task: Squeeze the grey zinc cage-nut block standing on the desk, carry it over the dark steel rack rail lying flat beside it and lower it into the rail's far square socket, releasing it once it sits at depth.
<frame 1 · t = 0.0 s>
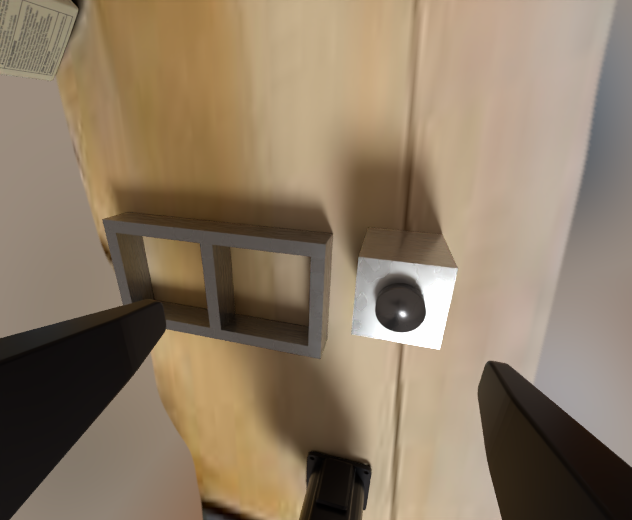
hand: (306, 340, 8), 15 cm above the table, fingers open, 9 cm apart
cage nut: (399, 263, 22), on the table
skincare box: (46, 27, 22), on the table
rail: (227, 275, 26), on the table
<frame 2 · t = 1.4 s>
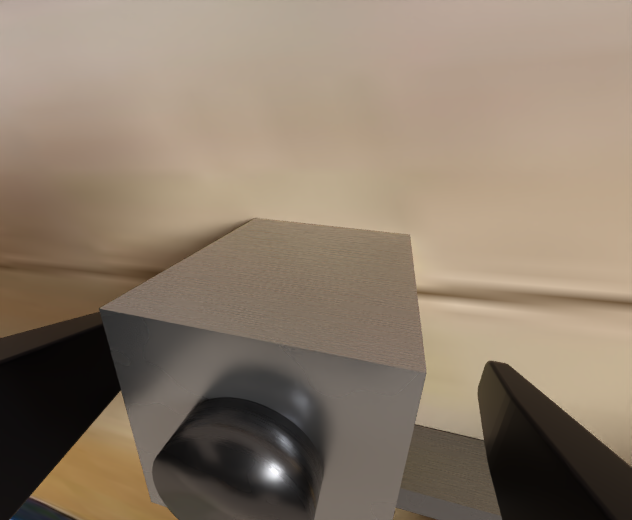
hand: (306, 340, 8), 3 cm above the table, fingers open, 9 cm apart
cage nut: (324, 294, 11), on the table
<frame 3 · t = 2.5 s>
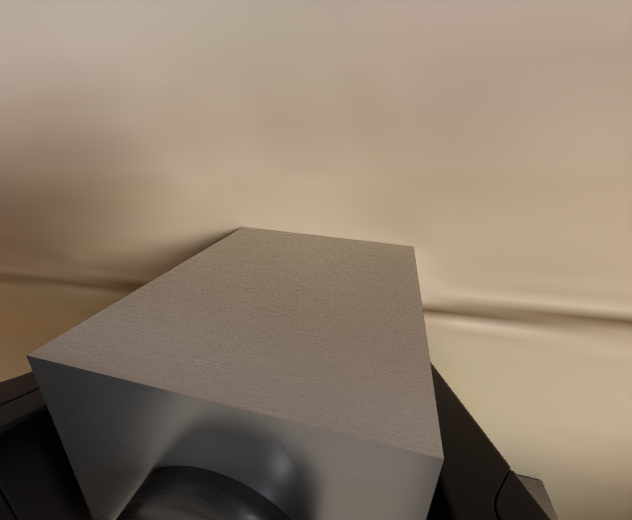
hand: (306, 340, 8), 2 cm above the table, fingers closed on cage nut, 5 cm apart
cage nut: (319, 311, 10), on the table, touching gripper
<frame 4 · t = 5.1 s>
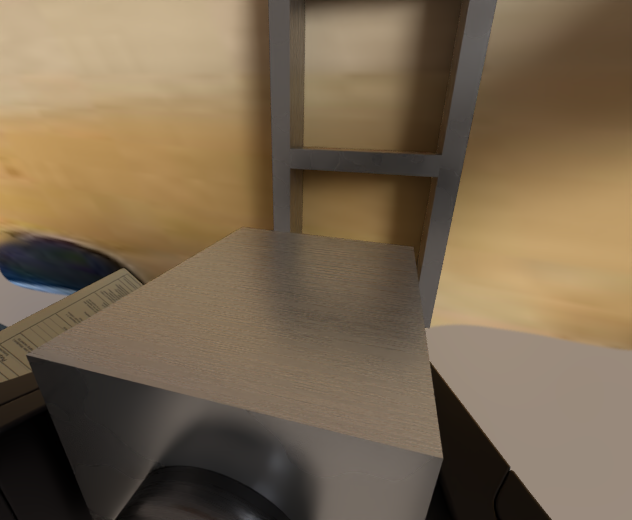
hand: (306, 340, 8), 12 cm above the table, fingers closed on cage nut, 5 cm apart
cage nut: (319, 311, 10), point 10 cm above the table, touching gripper
skincare box: (144, 305, 27), on the table
rail: (365, 158, 18), on the table
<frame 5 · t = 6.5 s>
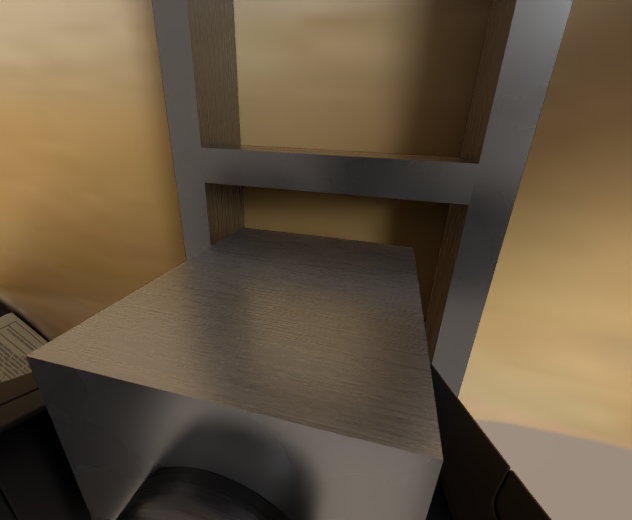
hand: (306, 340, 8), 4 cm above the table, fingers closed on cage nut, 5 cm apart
cage nut: (319, 311, 10), point 3 cm above the table, touching gripper
skincare box: (48, 359, 20), on the table
rail: (340, 166, 11), on the table
when the fingers open (3 cm above the table, at t = 7.5 s): cage nut drops 2 cm, resting in rail.
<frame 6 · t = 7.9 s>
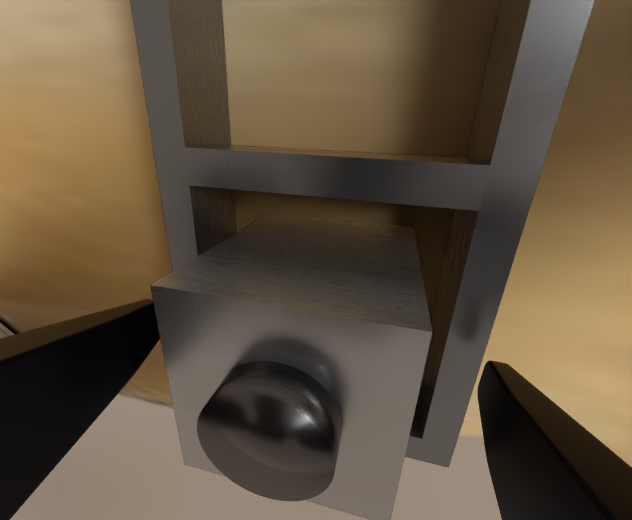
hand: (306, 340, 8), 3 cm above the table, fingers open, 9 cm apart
cage nut: (334, 283, 12), resting in rail
rail: (338, 167, 10), on the table
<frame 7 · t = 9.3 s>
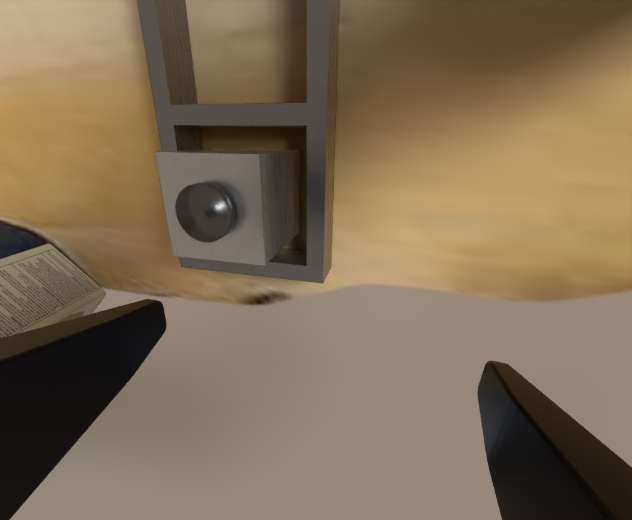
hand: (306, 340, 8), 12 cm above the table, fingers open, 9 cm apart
cage nut: (262, 190, 20), resting in rail
skincare box: (74, 282, 27), on the table
rail: (256, 117, 18), on the table
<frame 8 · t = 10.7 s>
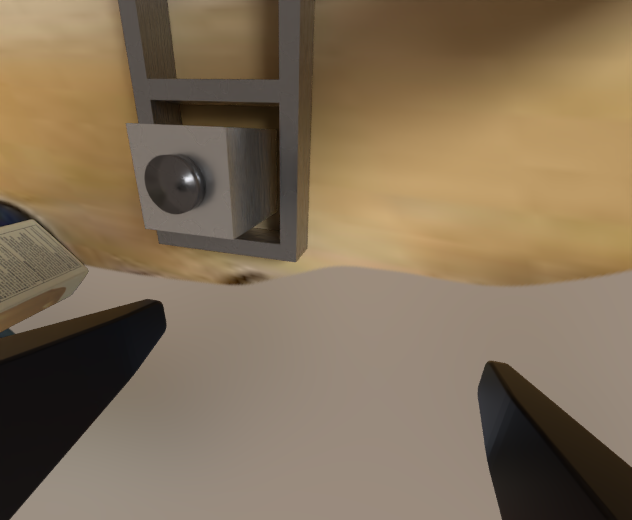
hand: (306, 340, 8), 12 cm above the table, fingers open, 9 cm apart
cage nut: (240, 169, 20), resting in rail
skincare box: (58, 258, 27), on the table
rail: (234, 95, 18), on the table
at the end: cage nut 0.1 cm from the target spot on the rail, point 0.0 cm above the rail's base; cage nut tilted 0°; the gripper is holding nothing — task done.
